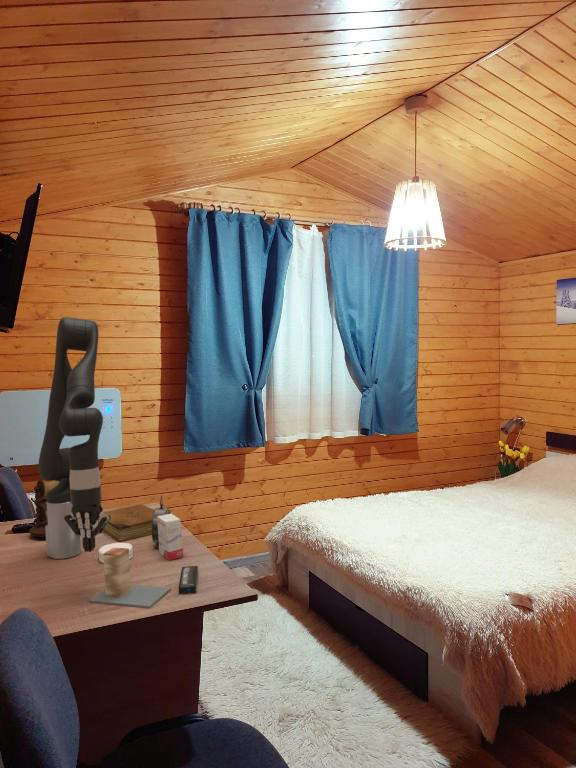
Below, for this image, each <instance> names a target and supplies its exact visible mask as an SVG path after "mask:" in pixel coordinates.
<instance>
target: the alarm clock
mask: <svg viewBox="0 0 576 768" xmlns="http://www.w3.org/2000/svg"><path fill="white" fill-rule="evenodd" d="M162 500H163V495H162V494H160V497H159V502H160V503H159V506H160V507H155V509H154V514H153V519H152V535H151V538H152V542H153V543H154V544H155V543H156V550H159V537H158V521H157V516H161V515H167V514H172V512H171V509H169V508H168V507H163V505H164V503H162Z"/></svg>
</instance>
